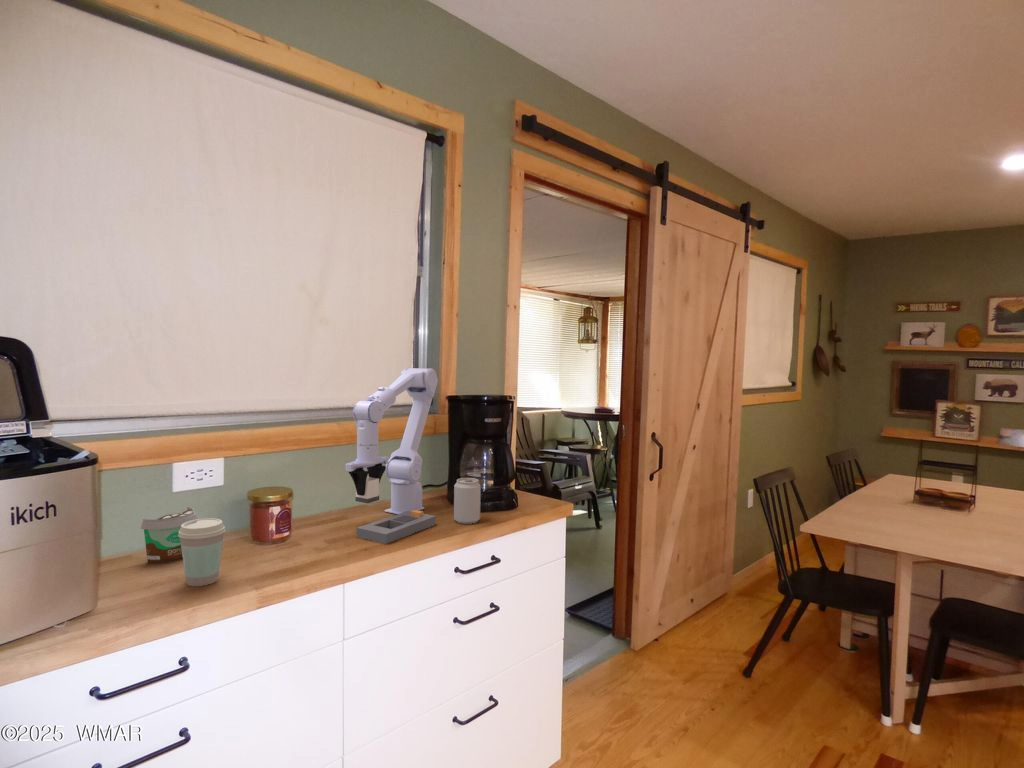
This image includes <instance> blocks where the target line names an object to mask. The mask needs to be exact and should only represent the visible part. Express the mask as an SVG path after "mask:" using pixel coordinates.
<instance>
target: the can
mask: <svg viewBox="0 0 1024 768" xmlns="http://www.w3.org/2000/svg"><path fill="white" fill-rule="evenodd" d="M479 481H480V480H479V479H477V478H475V477H474V478H473V477H461V478H457V479H456V482H455V484H454V485H453V487H454V488H453V495H454V497H453V520H455V521H456V522H457V524H460V525H461V524H463V525H471V524H472V523H473V524H476V523H477V522H478V521H479V520H480V519H481V495H482V494H481V489H482V488H481V487H482V486H481V484H480V482H479Z"/></svg>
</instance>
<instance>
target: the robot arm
mask: <svg viewBox="0 0 1024 768" xmlns="http://www.w3.org/2000/svg"><path fill="white" fill-rule="evenodd" d="M438 382H439V379H438V376H437V372H436V370H435V369H433V368H431V367H429V368H423V367H422V368H417V367H416V368H415V367H405V368H404V369H403V370H402V371H400V374H399V376H398V378H396V379H395V380H394V381H393V382H392V383H390V385H389V386H388V387H387V386H379V387H378V388H377V390H376V391H375V392H374V393H373V394H371V395H368V397H366V399H365V400H359V401H358V402H357V403H355V405H354V406H353V408H352V409H353V410H352V411H351V413H352V418H353V419H354V424H355V425H354V426H355V428H356V459H355V460H353V461H350V462H347V463H345V468H344V469H345V471H346V472H348V474H349V475H350V477H351V479H352V481H353V484H354V487H355V492H356V491H357V495H361V496H364V495H365V487H366V479H367V477H372V478H378V479H379V484H380V483H381V479H382V477H383V474H385V476H386V478H387V479H388V482H390V508H386V509H384V512H385V513H391V514H394V515H397V514H400V513H403V512H406V511H413V510H418V511H423V510H425V507H424V506H423V486H422V484H421V482H420V481H419V480H420V477H421V475H422V466H423V465H422V464H423V461H424V460H423V459H422V457H421V455H419V453H418V449H419V447H420V443H421V439H422V436H423V431H424V429H425V425H426V422H427V417H428V415H429V411H430V408H431V404H432V401H433V398H434V397H435V393H436V389H437V386H438ZM405 391H406V392H407V394H408V396H409V397H411V398H412V399H413V403H412V406H411V409H410V412H409V415H408V420H407V421H406V426H405V429H404V433H403V437H402V438H401V442H400V446H399V448H398V449H396V450H394V451H393V452H391V454H390V457H389V456H379V422H380V421H382V419H383V416H384V413H386V412H385V411H387V410H388V409H389V408H390V407H391V406H393V405H394V404H395V403H396V401H397V397H398V396H399V395H400V394H402V393H404V392H405ZM365 468H366V470H365Z"/></svg>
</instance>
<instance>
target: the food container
mask: <svg viewBox="0 0 1024 768" xmlns="http://www.w3.org/2000/svg"><path fill="white" fill-rule="evenodd" d="M197 519H198V518H197V514H196V512H195V509H194V508H193V507H189V506H188V507H187V509H186V510H184V511H183V512H182V511H181V512H179V513H174V514H173V513H171V514H166V515H164V516H160V517H159V518H156V519H146V518H143V519H142V522H141V527H140V530H143V533H144V541H145V542H144V543H145V550H146V551H145V552H146V561H147V563H148V564H149V563H150V564H164V563H165V564H166V563H173V562H177V561H181V560H183V556H182V549H181V542H180V537H178V534H179V530H180V528H181V525H182V524H183V523H185V522H188V521H192V520H197Z"/></svg>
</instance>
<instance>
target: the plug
mask: <svg viewBox="0 0 1024 768" xmlns="http://www.w3.org/2000/svg"><path fill="white" fill-rule="evenodd" d="M377 501H380V483H379V479H378V478H372V477H369V476H367V479H366V487H365V495H364V496H361V495H357V491H356V490H355V502H358V503H363V504H371V503H374V502H377Z"/></svg>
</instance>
